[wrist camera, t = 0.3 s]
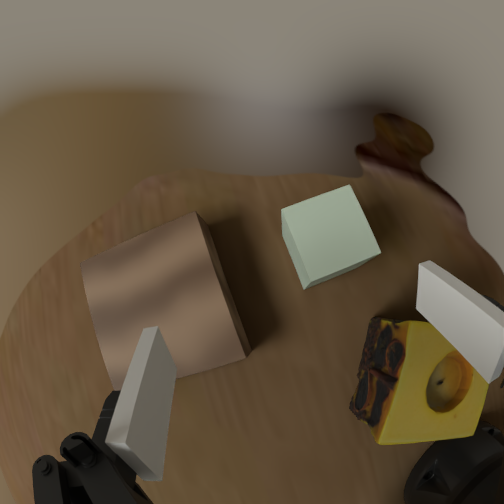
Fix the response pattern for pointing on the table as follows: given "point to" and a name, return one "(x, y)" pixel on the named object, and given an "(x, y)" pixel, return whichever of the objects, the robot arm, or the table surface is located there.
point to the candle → (415, 385)
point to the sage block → (327, 236)
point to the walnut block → (164, 299)
